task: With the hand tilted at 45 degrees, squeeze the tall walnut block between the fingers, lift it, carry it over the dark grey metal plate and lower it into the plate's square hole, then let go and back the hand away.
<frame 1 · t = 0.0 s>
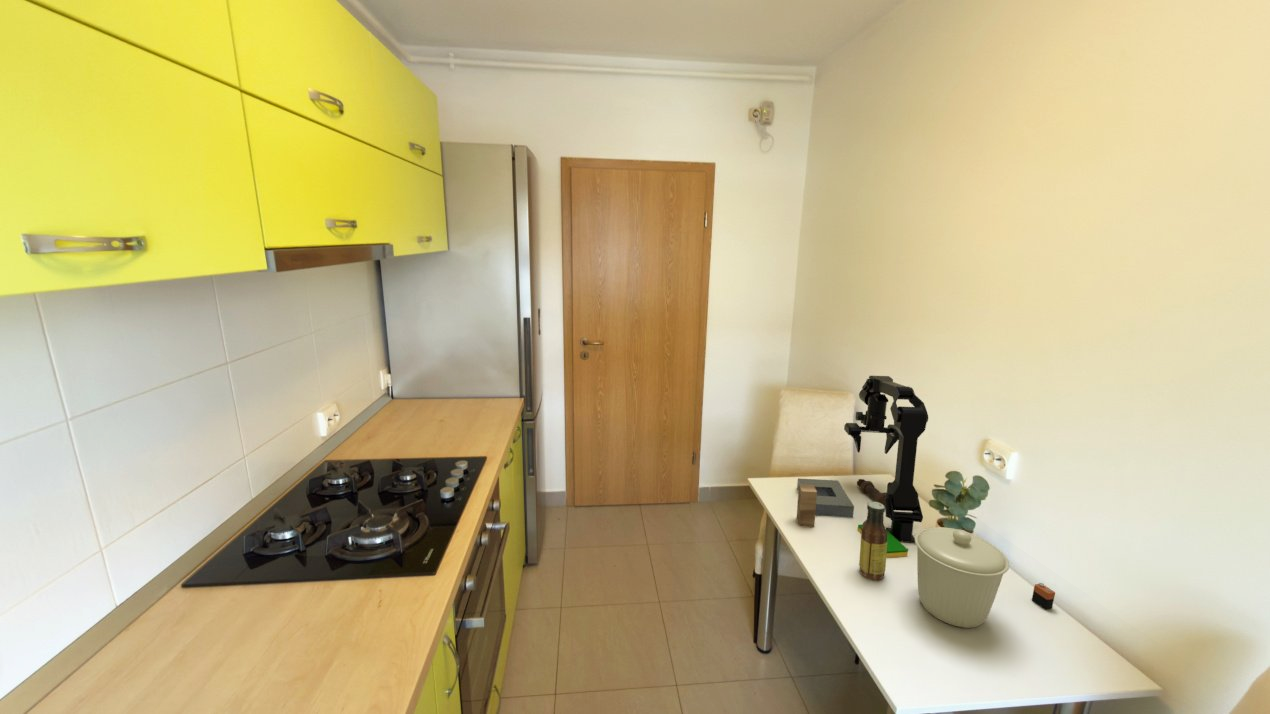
hand: (871, 452, 167), 15 cm above the table, tool pointing down, fingers open, 9 cm apart
sauce bottle: (870, 573, 126), on the table
dish sponge: (881, 544, 139), on the table
walnut block: (805, 522, 149), on the table
canister: (950, 611, 112), on the table
hole plate: (823, 502, 162), on the table
bolt: (871, 498, 165), on the table
battery: (1041, 605, 114), on the table
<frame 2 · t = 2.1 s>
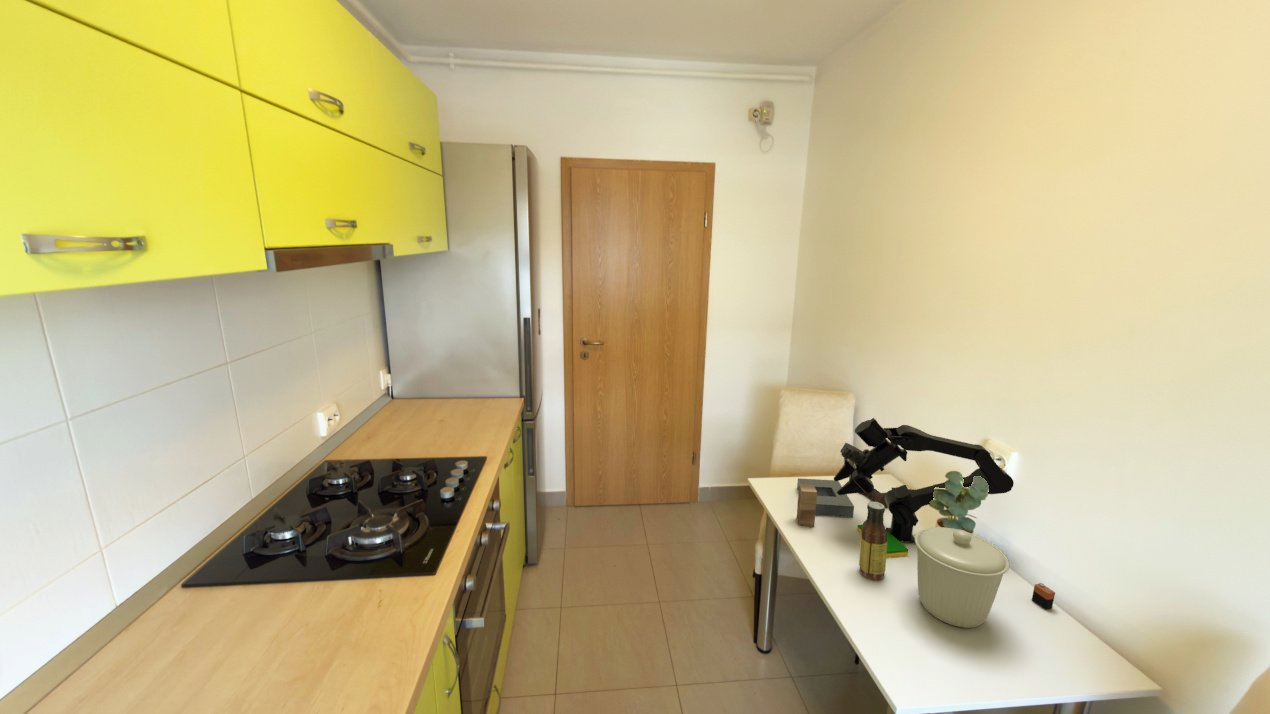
hand: (836, 486, 145), 13 cm above the table, tool tilted 45°, fingers open, 9 cm apart
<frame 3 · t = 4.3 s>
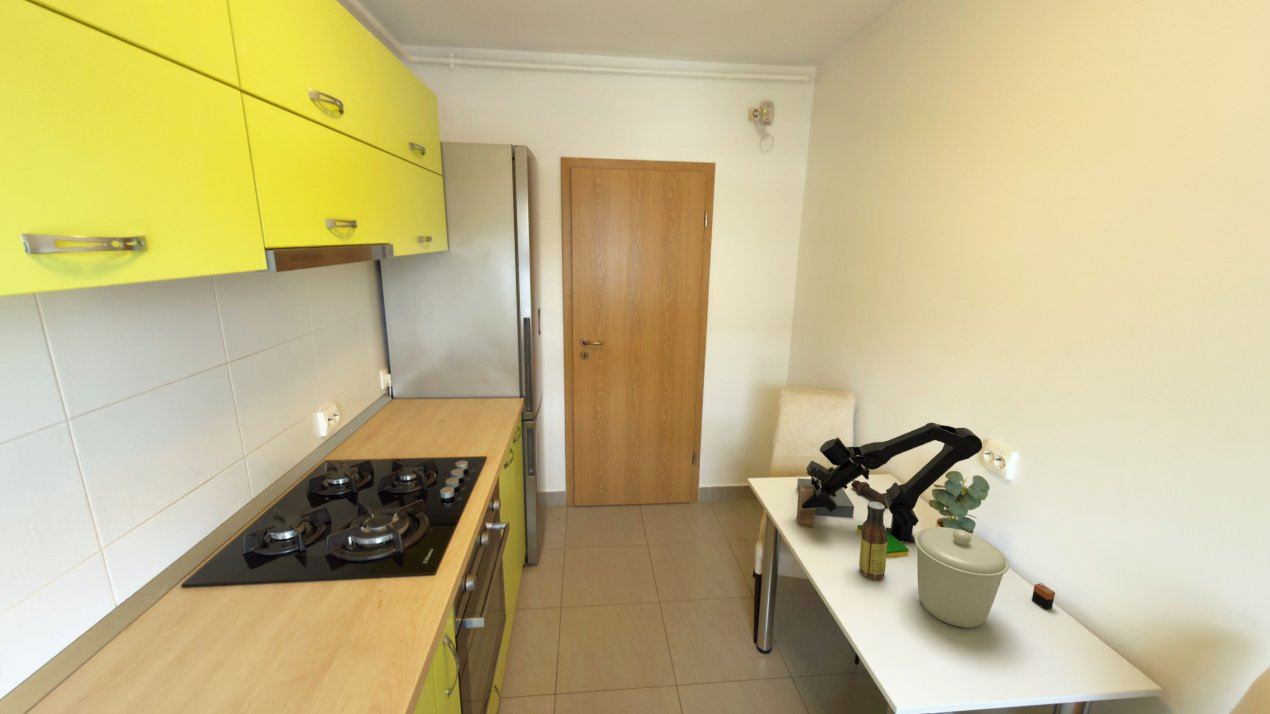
hand: (801, 503, 148), 7 cm above the table, tool tilted 45°, fingers closed on walnut block, 5 cm apart
walnut block: (805, 522, 149), on the table, touching gripper
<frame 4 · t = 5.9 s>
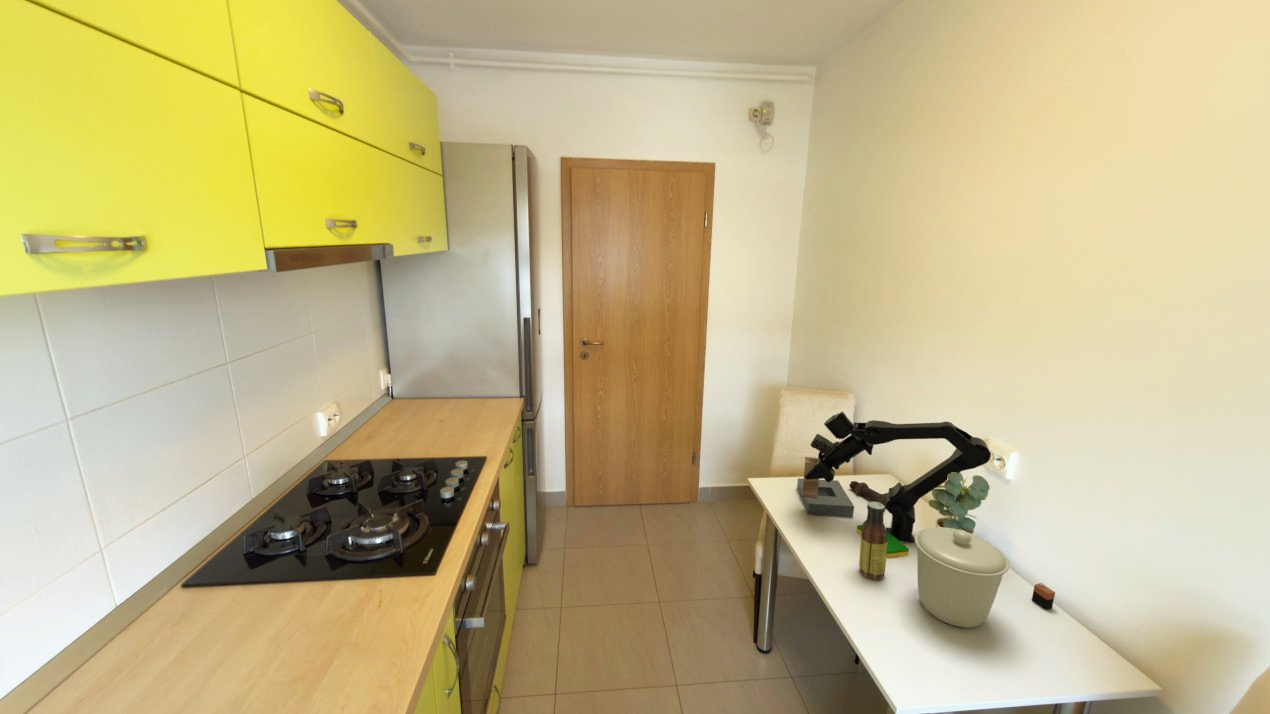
hand: (806, 475, 153), 13 cm above the table, tool tilted 45°, fingers closed on walnut block, 5 cm apart
walnut block: (809, 494, 153), point 7 cm above the table, touching gripper
when the fingers open (9 cm above the table, at t = 8.0 s): walnut block drops 3 cm, resting in hole plate.
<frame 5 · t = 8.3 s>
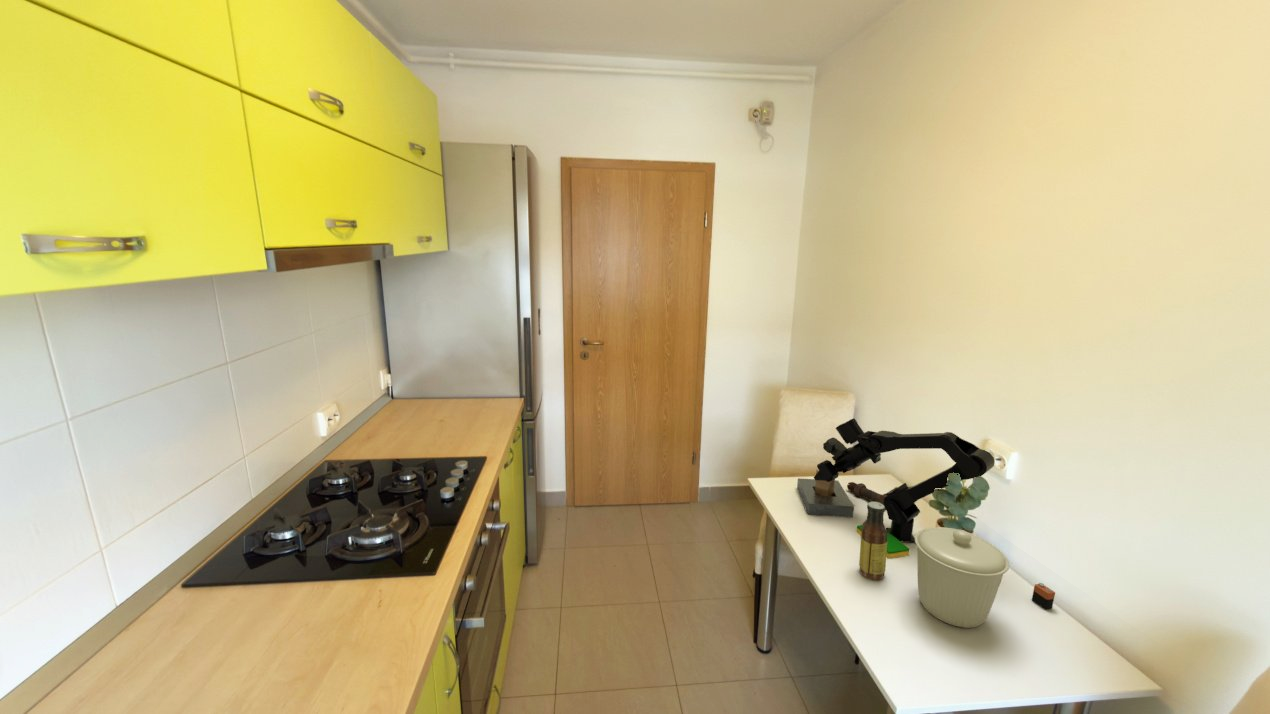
hand: (821, 475, 161), 10 cm above the table, tool tilted 45°, fingers open, 8 cm apart
walnut block: (823, 502, 162), resting in hole plate
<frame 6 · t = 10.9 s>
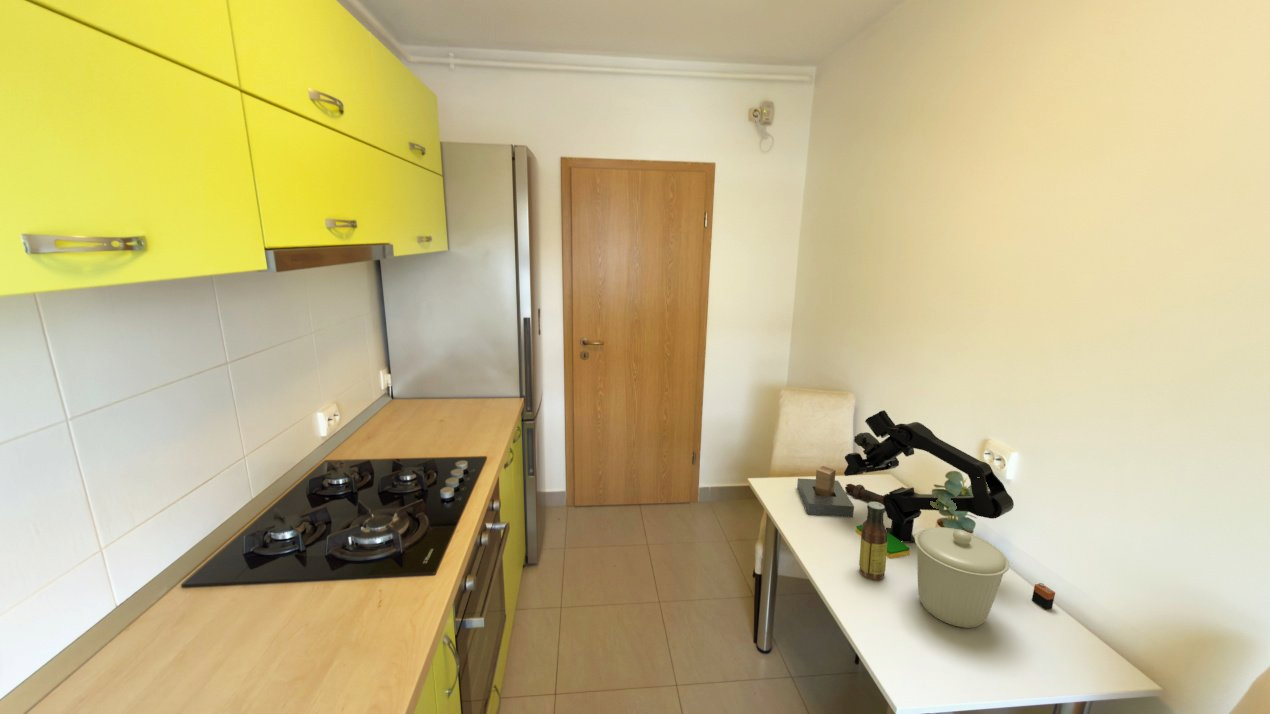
hand: (854, 472, 154), 14 cm above the table, tool tilted 40°, fingers open, 9 cm apart
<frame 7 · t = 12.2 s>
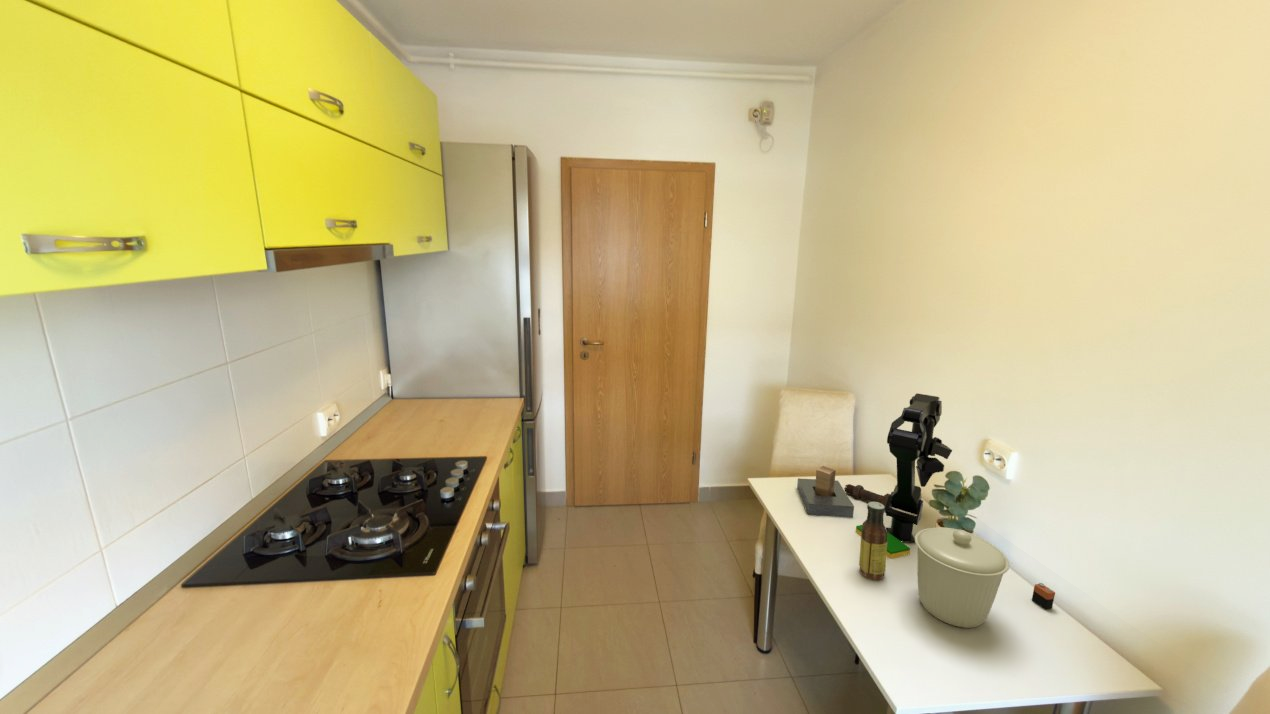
hand: (916, 479, 150), 13 cm above the table, tool pointing down, fingers open, 9 cm apart
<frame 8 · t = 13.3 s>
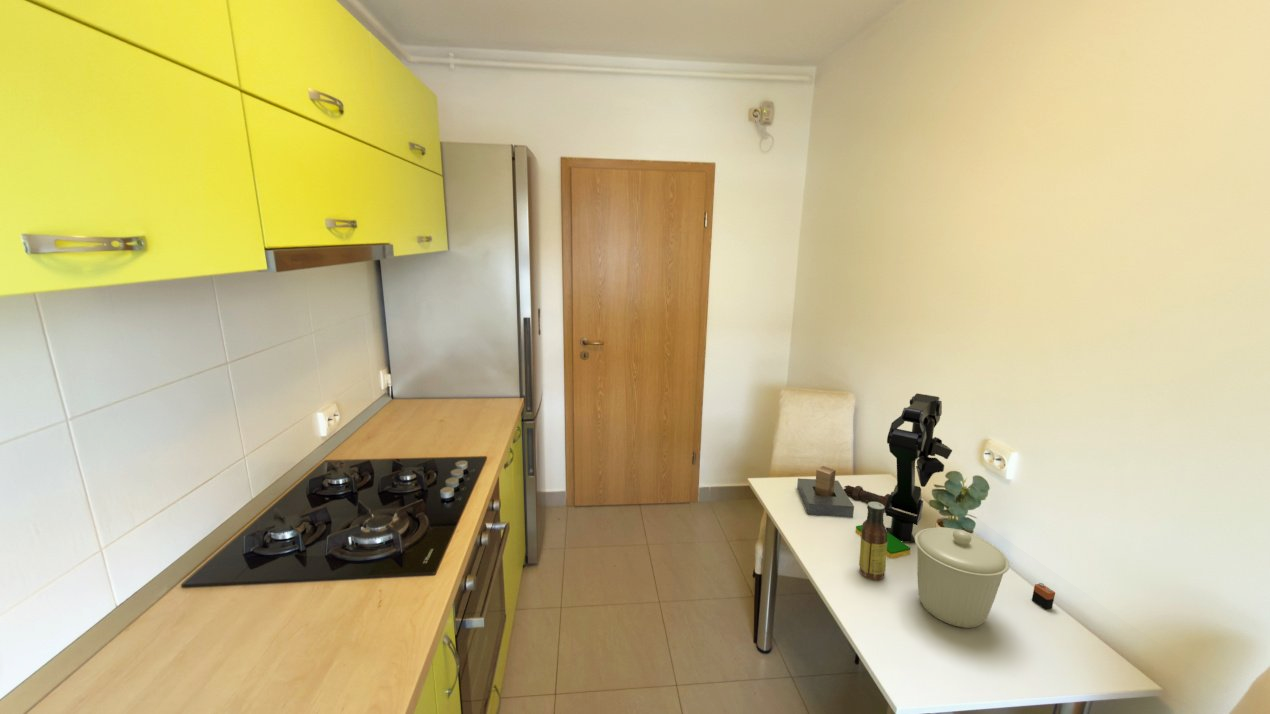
hand: (916, 479, 150), 13 cm above the table, tool pointing down, fingers open, 9 cm apart
at the end: walnut block 0.1 cm off-centre on the hole plate, point 0.0 cm above the hole plate's base; walnut block tilted 0°; the gripper is holding nothing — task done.
